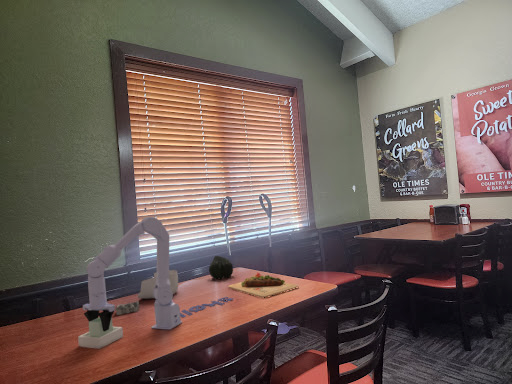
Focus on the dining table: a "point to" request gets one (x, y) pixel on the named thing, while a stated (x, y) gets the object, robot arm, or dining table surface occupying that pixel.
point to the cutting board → (263, 286)
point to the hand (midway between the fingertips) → (100, 329)
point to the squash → (220, 268)
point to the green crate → (98, 328)
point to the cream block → (149, 285)
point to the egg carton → (127, 308)
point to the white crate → (100, 339)
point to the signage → (203, 306)
